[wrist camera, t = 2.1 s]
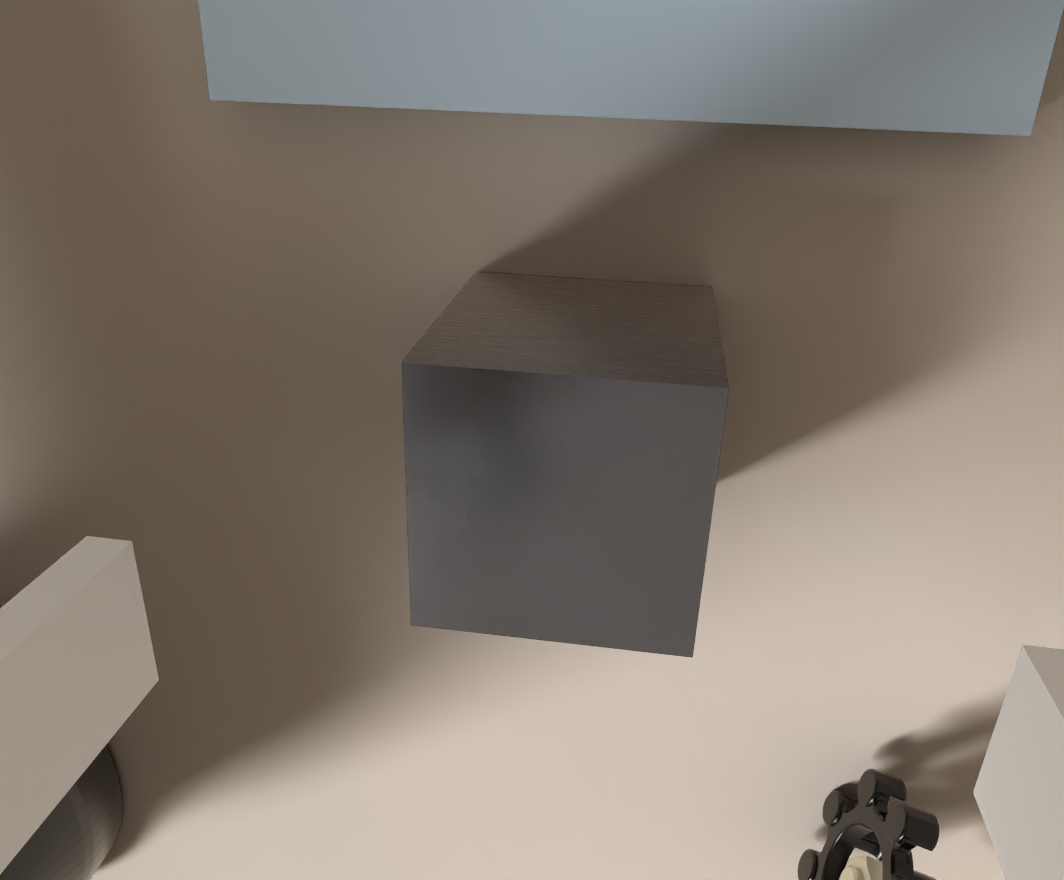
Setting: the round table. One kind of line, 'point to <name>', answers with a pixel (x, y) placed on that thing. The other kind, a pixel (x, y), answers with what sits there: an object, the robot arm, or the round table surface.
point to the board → (647, 59)
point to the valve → (871, 834)
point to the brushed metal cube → (564, 460)
